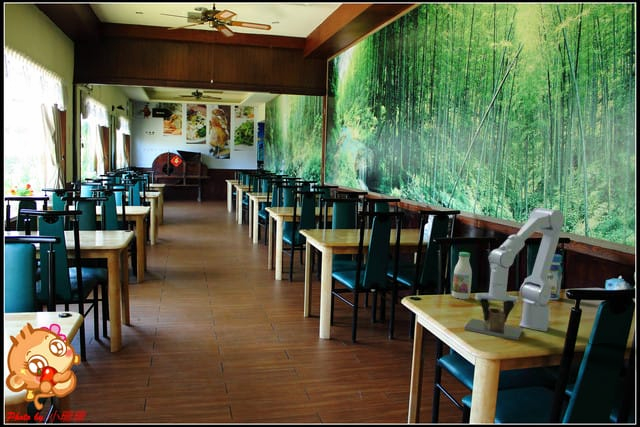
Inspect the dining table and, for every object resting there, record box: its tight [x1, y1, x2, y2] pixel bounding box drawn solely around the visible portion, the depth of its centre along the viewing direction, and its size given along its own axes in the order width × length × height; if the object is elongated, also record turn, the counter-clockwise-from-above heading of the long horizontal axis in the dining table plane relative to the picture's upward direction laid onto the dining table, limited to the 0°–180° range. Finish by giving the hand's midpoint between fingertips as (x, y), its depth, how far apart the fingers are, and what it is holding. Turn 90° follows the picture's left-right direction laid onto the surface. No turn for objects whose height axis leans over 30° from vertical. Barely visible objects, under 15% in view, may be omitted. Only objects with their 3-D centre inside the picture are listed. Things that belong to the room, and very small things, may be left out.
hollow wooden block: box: [484, 307, 506, 331], centre depth 187 cm, size 5×7×6 cm
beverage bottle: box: [547, 253, 563, 301], centre depth 242 cm, size 8×8×20 cm
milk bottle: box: [451, 251, 473, 300], centre depth 232 cm, size 8×8×20 cm
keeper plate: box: [464, 318, 524, 342], centre depth 188 cm, size 18×12×5 cm, turn 62°
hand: (494, 320), depth 187 cm, fingers open, 6 cm apart
